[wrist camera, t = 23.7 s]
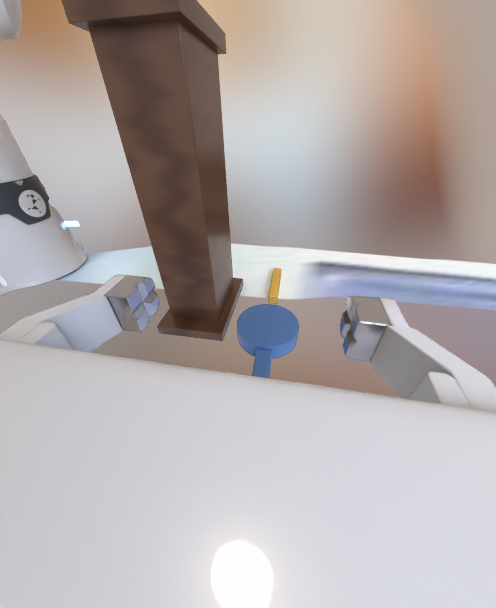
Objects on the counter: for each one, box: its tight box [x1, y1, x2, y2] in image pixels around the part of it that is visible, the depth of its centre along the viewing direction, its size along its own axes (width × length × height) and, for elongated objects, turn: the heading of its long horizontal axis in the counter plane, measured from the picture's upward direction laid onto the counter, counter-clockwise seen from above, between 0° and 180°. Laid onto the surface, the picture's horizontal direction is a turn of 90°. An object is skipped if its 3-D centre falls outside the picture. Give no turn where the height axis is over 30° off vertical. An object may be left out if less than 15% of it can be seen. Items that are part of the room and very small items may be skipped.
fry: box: [268, 268, 281, 304], centre depth 35 cm, size 1×8×1 cm, turn 169°
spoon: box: [237, 304, 299, 378], centre depth 22 cm, size 7×20×2 cm, turn 171°
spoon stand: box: [62, 0, 243, 341], centre depth 24 cm, size 8×12×26 cm, turn 170°
